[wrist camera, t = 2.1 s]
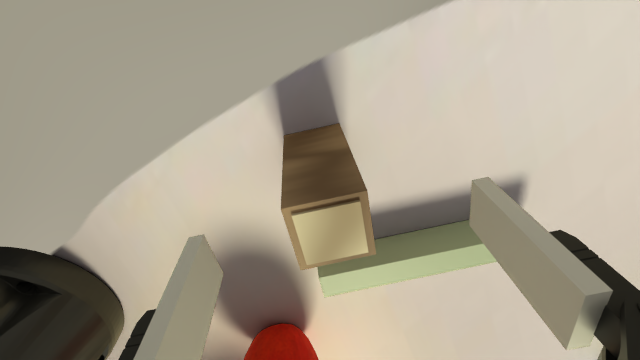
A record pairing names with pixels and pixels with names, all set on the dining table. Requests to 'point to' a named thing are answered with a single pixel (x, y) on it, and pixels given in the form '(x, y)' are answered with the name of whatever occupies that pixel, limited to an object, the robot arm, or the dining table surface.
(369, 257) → the rail
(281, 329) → the apple
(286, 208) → the walnut block
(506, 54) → the dining table surface
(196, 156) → the dining table surface
